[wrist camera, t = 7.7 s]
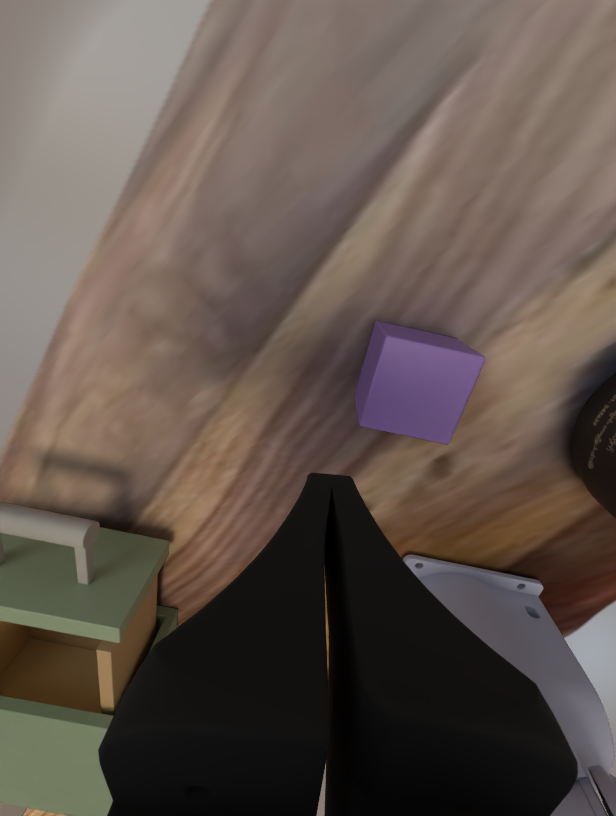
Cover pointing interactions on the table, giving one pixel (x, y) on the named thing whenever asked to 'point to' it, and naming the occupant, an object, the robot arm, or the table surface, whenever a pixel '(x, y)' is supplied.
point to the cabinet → (58, 751)
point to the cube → (415, 382)
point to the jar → (598, 445)
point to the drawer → (74, 608)
